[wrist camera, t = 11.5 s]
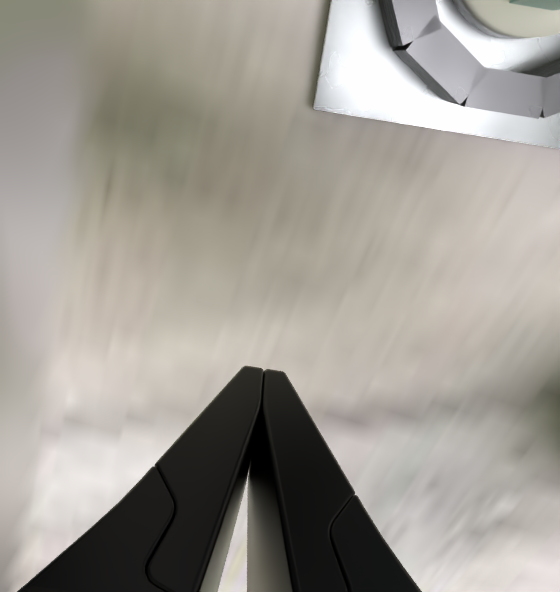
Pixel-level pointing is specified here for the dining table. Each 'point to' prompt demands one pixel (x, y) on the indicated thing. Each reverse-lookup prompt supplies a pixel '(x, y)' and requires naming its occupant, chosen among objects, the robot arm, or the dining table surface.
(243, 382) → the robot arm
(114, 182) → the dining table surface
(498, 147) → the dining table surface
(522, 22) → the cap
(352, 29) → the square ring flange
